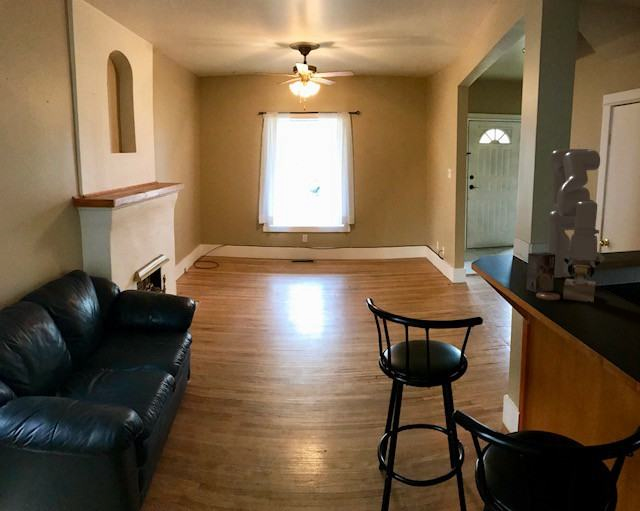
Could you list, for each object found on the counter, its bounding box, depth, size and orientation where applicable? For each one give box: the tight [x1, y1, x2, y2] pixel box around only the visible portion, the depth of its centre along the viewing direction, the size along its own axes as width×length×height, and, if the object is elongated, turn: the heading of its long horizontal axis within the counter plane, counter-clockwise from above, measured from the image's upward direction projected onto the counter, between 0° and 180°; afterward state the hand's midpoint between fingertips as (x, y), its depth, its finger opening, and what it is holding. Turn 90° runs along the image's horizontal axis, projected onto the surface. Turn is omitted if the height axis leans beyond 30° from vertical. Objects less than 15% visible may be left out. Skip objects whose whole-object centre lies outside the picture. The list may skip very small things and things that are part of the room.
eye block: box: [562, 278, 596, 303], centre depth 209 cm, size 11×11×6 cm
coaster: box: [535, 291, 561, 301], centre depth 210 cm, size 9×9×1 cm
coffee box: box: [526, 251, 555, 293], centre depth 220 cm, size 9×6×16 cm
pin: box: [572, 264, 591, 285], centre depth 209 cm, size 6×6×13 cm
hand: (580, 275), depth 208 cm, fingers open, 6 cm apart
